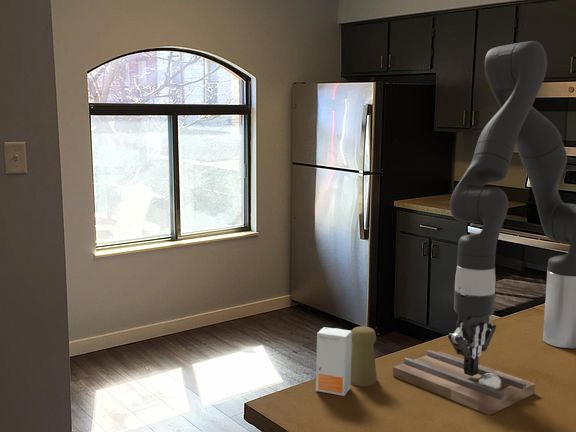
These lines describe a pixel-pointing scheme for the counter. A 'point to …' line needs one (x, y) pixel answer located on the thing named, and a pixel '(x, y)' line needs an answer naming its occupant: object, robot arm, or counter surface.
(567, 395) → the counter surface
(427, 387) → the walnut channel
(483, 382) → the steel ball
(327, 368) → the skincare box
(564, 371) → the counter surface
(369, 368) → the olive knob stopper
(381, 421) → the counter surface
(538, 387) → the counter surface
